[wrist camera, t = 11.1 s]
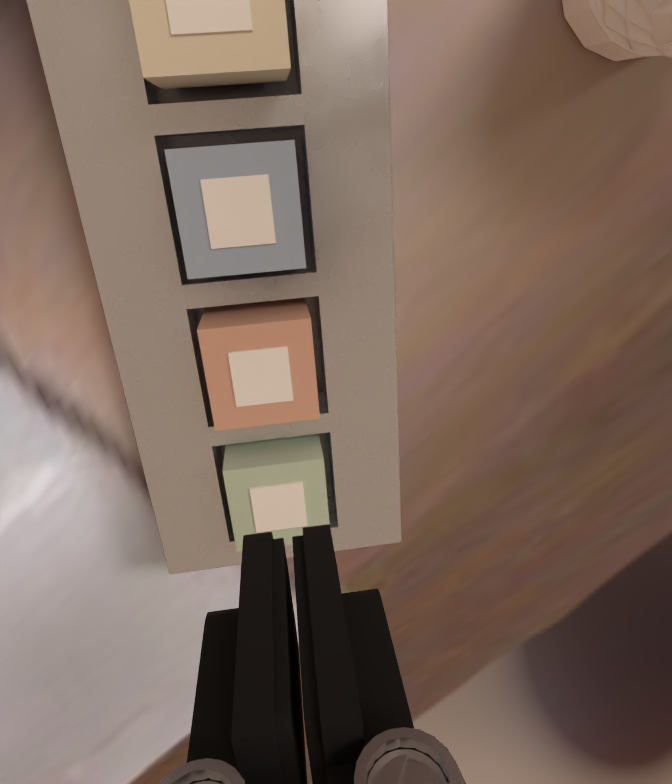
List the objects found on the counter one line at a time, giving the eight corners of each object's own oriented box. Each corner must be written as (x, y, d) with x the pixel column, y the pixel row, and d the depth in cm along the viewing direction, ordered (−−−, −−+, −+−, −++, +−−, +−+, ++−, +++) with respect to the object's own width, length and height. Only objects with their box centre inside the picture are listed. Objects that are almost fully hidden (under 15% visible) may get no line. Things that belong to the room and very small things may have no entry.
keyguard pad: (366, -120, 20) (382, -162, 18) (389, 508, 32) (401, 541, 29) (27, -108, 19) (-12, -151, 16) (177, 536, 31) (169, 574, 28)
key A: (304, 297, 25) (311, 319, 22) (313, 387, 27) (320, 419, 24) (205, 307, 25) (196, 331, 22) (220, 397, 27) (214, 432, 23)
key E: (316, 423, 28) (323, 459, 25) (323, 497, 30) (331, 540, 26) (226, 434, 27) (222, 472, 24) (239, 508, 29) (237, 553, 26)
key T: (289, 141, 23) (294, 139, 19) (300, 252, 24) (306, 268, 21) (178, 149, 22) (164, 149, 19) (197, 262, 24) (187, 279, 21)
